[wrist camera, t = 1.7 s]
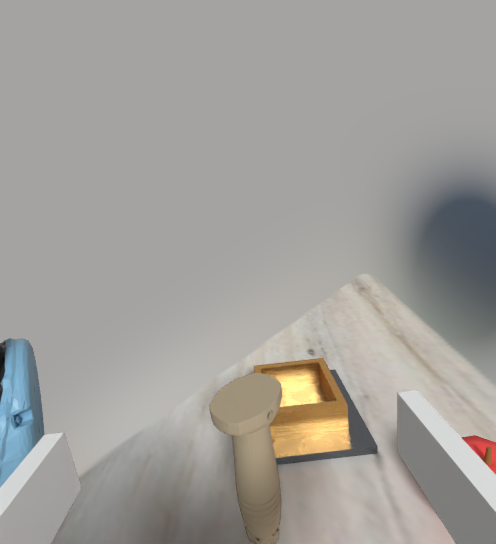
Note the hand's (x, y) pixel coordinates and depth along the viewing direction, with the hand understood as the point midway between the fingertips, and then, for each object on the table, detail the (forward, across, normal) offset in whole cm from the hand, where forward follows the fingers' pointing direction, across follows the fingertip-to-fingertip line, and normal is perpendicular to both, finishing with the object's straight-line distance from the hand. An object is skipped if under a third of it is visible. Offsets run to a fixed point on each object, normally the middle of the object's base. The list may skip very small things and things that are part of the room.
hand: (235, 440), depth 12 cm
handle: (+12, 0, -22) cm, 25 cm away
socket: (+27, +6, -21) cm, 35 cm away
